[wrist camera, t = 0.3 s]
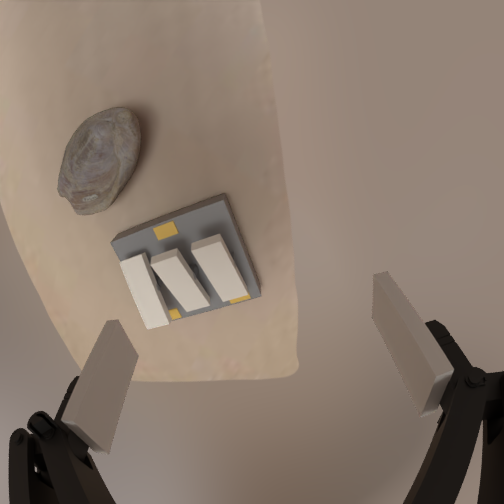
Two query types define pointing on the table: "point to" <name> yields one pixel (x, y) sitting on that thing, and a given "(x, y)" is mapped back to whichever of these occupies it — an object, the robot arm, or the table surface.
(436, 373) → the robot arm
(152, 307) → the rocker
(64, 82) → the table surface
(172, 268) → the rocker
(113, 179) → the seashell
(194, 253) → the plate
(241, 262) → the switch unit
